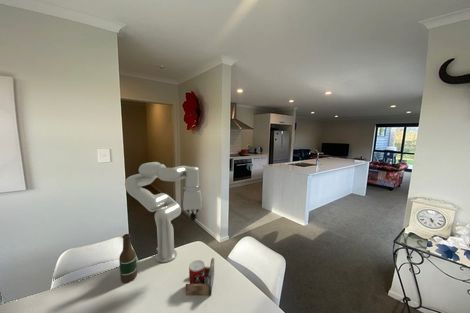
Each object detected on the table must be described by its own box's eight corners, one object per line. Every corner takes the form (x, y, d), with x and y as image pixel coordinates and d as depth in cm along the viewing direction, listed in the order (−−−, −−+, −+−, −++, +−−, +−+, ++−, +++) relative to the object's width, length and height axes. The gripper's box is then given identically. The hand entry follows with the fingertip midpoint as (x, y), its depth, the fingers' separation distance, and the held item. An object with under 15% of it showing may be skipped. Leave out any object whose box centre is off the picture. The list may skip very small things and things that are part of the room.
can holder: (185, 295, 91) (185, 275, 90) (192, 275, 105) (191, 257, 104) (211, 295, 91) (211, 275, 90) (214, 275, 105) (214, 257, 104)
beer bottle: (117, 281, 101) (114, 237, 98) (130, 271, 108) (127, 230, 106) (127, 285, 98) (125, 240, 95) (140, 275, 105) (138, 232, 103)
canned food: (189, 293, 93) (189, 271, 92) (189, 281, 101) (188, 261, 99) (205, 290, 95) (205, 268, 94) (204, 278, 102) (203, 258, 101)
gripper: (177, 190, 106) (178, 222, 108) (204, 190, 106) (205, 222, 108) (181, 187, 113) (182, 217, 115) (206, 187, 113) (207, 217, 115)
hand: (193, 219), depth 111 cm, fingers closed
